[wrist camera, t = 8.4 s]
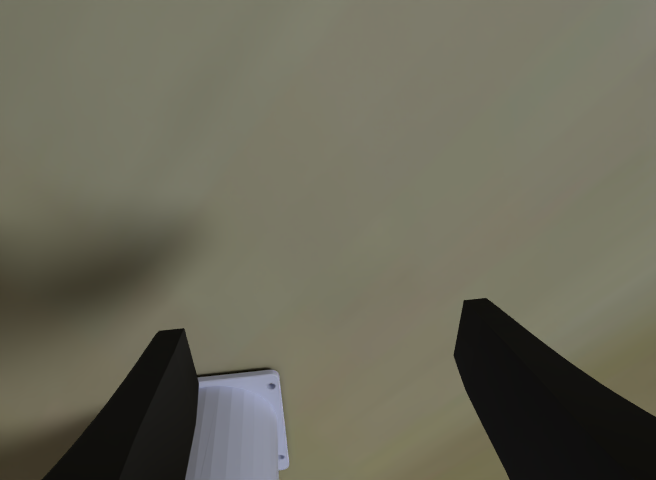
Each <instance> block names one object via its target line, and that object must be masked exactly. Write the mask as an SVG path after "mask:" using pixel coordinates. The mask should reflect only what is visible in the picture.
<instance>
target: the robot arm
mask: <svg viewBox="0 0 656 480" xmlns="http://www.w3.org/2000/svg"><path fill="white" fill-rule="evenodd" d="M454 358H455V361H456V364H457V367H458V370H459V373H460V376H461V379H462V381H463V384H464V387H465V390H466V392H467V394H468V396H469V398H470V400H471V402H472V404H473V406H474V408H475V410H476V413H477V415H478V417H479V419H480V421H481V423H482V425H483V427H484V429H485V431H486V433H487V435H488V437H489V439H490V441H491V443H492V445H493V447H494V449H495V451H496V453H497V455H498V457H499V459H500V460H501V462H502V464H503V466H504V468H505V470H506V473H507V475H508V477H509V479H510V480H656V417H655V416H653V415H651V414H650V413H648V412H646V411H645V410H643V409H641V408H640V407H638V406H636V405H635V404H633V403H631V402H630V401H628V400H626V399H625V398H623V397H621V396H620V395H618V394H616V393H615V392H613V391H612V390H610V389H609V388H607V387H605V386H604V385H602V384H601V383H599V382H598V381H596V380H595V379H593V378H592V377H590V376H589V375H588V374H586V373H585V372H583V371H582V370H580V369H579V368H577V367H576V366H574V365H573V364H572V363H570V362H569V361H567V360H566V359H565V358H563V357H562V356H561V355H559V354H558V353H556V352H555V351H554V350H552V349H551V348H550V347H548V346H547V345H546V344H544V343H543V342H542V341H541V340H539V339H538V338H537V337H535V336H534V335H533V334H531V333H530V332H529V331H528V330H526V329H525V328H524V327H523V326H521V325H520V324H519V323H517V322H516V321H515V320H514V319H512V318H511V317H510V316H509V315H507V314H506V313H505V312H504V311H502V310H501V309H500V308H499V307H497V306H496V305H495V304H493V303H492V302H491V301H489V300H488V299H487V298H482V299H472V300H464V302H463V308H462V313H461V318H460V324H459V329H458V334H457V340H456V345H455V350H454ZM270 383H273V384H270ZM288 466H289V456H288V447H287V439H286V430H285V421H284V413H283V404H282V396H281V387H280V379H279V373H278V372H277V371H275V370H262V371H253V372H244V373H235V374H225V375H216V376H207V377H198V378H197V374H196V370H195V367H194V363H193V359H192V355H191V352H190V348H189V344H188V341H187V337H186V333H185V329H184V328H183V329H173V330H163V331H159V332H158V333H157V334H156V335H155V336H154V338H153V339H152V341H151V342H150V344H149V345H148V346H147V348H146V349H145V351H144V352H143V354H142V355H141V357H140V358H139V360H138V361H137V363H136V364H135V365H134V367H133V368H132V370H131V371H130V372H129V374H128V375H127V377H126V378H125V379H124V381H123V382H122V384H121V385H120V386H119V388H118V389H117V390H116V392H115V393H114V394H113V396H112V397H111V398H110V400H109V401H108V402H107V404H106V405H105V406H104V408H103V409H102V410H101V411H100V413H99V414H98V415H97V416H96V418H95V419H94V420H93V421H92V422H91V424H90V425H89V426H88V427H87V429H86V430H85V431H84V432H83V434H82V435H81V436H80V437H79V438H78V440H77V441H76V442H75V443H74V444H73V446H72V447H71V448H70V449H69V450H68V451H67V452H66V454H65V455H64V456H63V457H62V458H61V459H60V460H59V461H58V463H57V464H56V465H55V466H54V467H53V468H52V469H51V470H50V471H49V472H48V473H47V475H46V476H45V477H44V478H43V479H42V480H279V470H284V469H286V468H288Z"/></svg>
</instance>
